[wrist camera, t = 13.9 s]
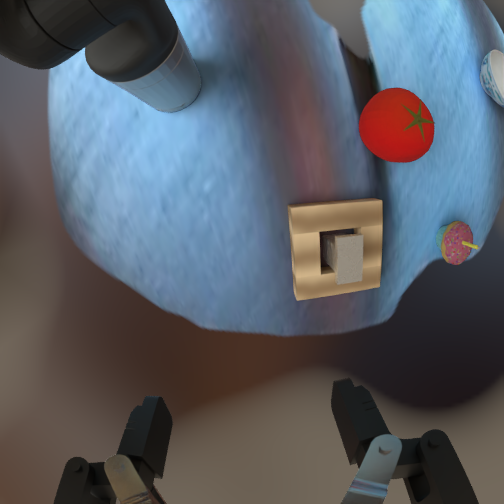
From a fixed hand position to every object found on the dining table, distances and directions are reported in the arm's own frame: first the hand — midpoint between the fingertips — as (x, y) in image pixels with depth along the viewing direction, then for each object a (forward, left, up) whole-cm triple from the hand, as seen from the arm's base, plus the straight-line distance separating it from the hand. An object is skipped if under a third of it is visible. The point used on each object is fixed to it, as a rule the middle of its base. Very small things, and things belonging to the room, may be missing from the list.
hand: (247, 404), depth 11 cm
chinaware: (-31, +61, -33) cm, 76 cm away
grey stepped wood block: (+4, +15, -33) cm, 36 cm away
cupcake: (+5, +40, -33) cm, 52 cm away
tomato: (-15, +24, -33) cm, 44 cm away
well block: (+4, +15, -33) cm, 37 cm away
